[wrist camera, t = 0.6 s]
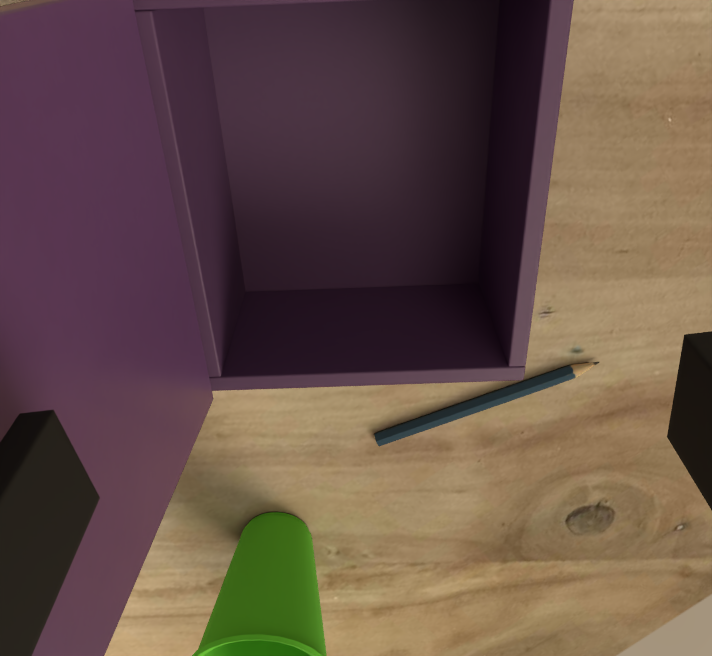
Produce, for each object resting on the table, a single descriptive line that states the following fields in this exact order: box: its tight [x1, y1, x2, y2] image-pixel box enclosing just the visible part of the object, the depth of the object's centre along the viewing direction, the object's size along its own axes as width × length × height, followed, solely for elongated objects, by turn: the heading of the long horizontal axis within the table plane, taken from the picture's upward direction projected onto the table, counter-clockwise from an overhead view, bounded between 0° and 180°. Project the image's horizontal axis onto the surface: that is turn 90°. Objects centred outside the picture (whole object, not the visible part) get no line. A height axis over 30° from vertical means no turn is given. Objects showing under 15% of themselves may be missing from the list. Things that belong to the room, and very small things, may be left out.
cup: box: [192, 512, 326, 656], centre depth 43 cm, size 9×9×11 cm
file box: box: [133, 0, 574, 391], centre depth 28 cm, size 15×17×9 cm
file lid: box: [0, 0, 213, 656], centre depth 18 cm, size 15×17×1 cm
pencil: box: [374, 362, 599, 446], centre depth 41 cm, size 1×1×15 cm
